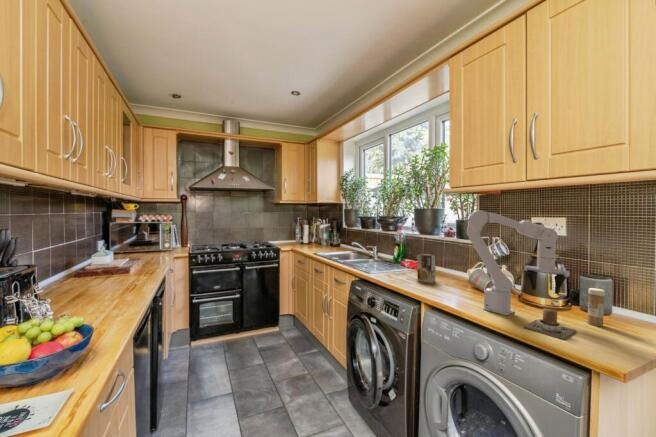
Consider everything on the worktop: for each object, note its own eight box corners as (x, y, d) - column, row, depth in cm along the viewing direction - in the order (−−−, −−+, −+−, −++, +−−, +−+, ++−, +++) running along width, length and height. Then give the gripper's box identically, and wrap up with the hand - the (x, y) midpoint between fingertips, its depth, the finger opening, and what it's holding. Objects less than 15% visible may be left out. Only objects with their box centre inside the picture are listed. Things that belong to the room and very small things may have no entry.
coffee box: (435, 281, 174) (436, 255, 174) (431, 283, 169) (431, 256, 169) (421, 279, 180) (422, 253, 180) (416, 280, 176) (417, 254, 175)
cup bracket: (523, 327, 104) (523, 321, 104) (536, 321, 111) (536, 314, 111) (564, 340, 94) (564, 332, 94) (576, 331, 101) (576, 324, 101)
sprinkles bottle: (583, 322, 110) (585, 287, 110) (594, 322, 111) (595, 287, 111) (596, 327, 106) (597, 290, 106) (607, 326, 106) (608, 290, 106)
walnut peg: (540, 329, 103) (541, 309, 103) (544, 326, 106) (545, 307, 105) (554, 333, 100) (554, 313, 100) (558, 330, 102) (558, 310, 102)
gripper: (572, 259, 112) (571, 293, 112) (529, 254, 123) (528, 286, 124) (566, 260, 108) (565, 296, 108) (522, 255, 119) (521, 288, 120)
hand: (545, 291), depth 115 cm, fingers open, 7 cm apart
